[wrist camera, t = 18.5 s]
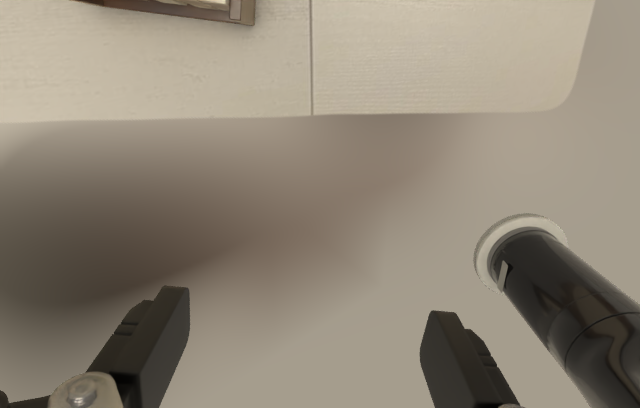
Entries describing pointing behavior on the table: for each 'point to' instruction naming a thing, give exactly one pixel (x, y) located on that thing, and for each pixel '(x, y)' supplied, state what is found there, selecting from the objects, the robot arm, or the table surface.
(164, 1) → the white book
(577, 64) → the table surface
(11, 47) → the table surface
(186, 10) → the brown book stand
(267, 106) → the table surface
